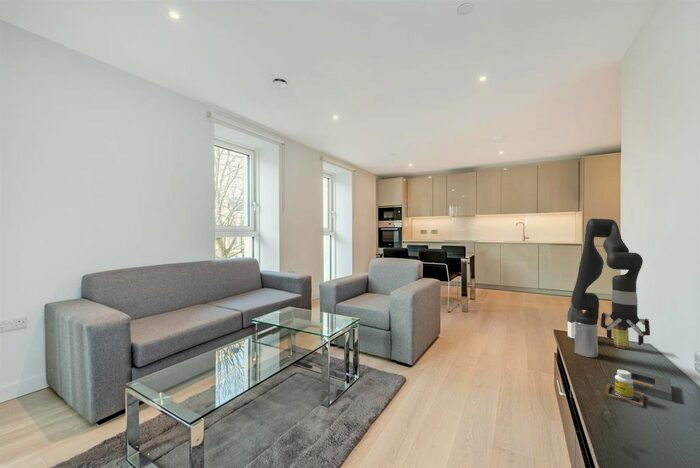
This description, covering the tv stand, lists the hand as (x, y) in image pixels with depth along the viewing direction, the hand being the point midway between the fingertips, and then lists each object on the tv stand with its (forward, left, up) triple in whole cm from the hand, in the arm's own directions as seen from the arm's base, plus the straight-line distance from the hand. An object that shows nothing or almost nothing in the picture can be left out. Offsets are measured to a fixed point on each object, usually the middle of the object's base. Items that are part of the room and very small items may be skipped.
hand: (624, 341), depth 115 cm
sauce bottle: (-5, +64, -22) cm, 68 cm away
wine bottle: (-25, +61, -22) cm, 70 cm away
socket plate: (+5, +16, -22) cm, 28 cm away
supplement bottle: (0, 0, -22) cm, 22 cm away
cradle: (0, 0, -22) cm, 22 cm away
